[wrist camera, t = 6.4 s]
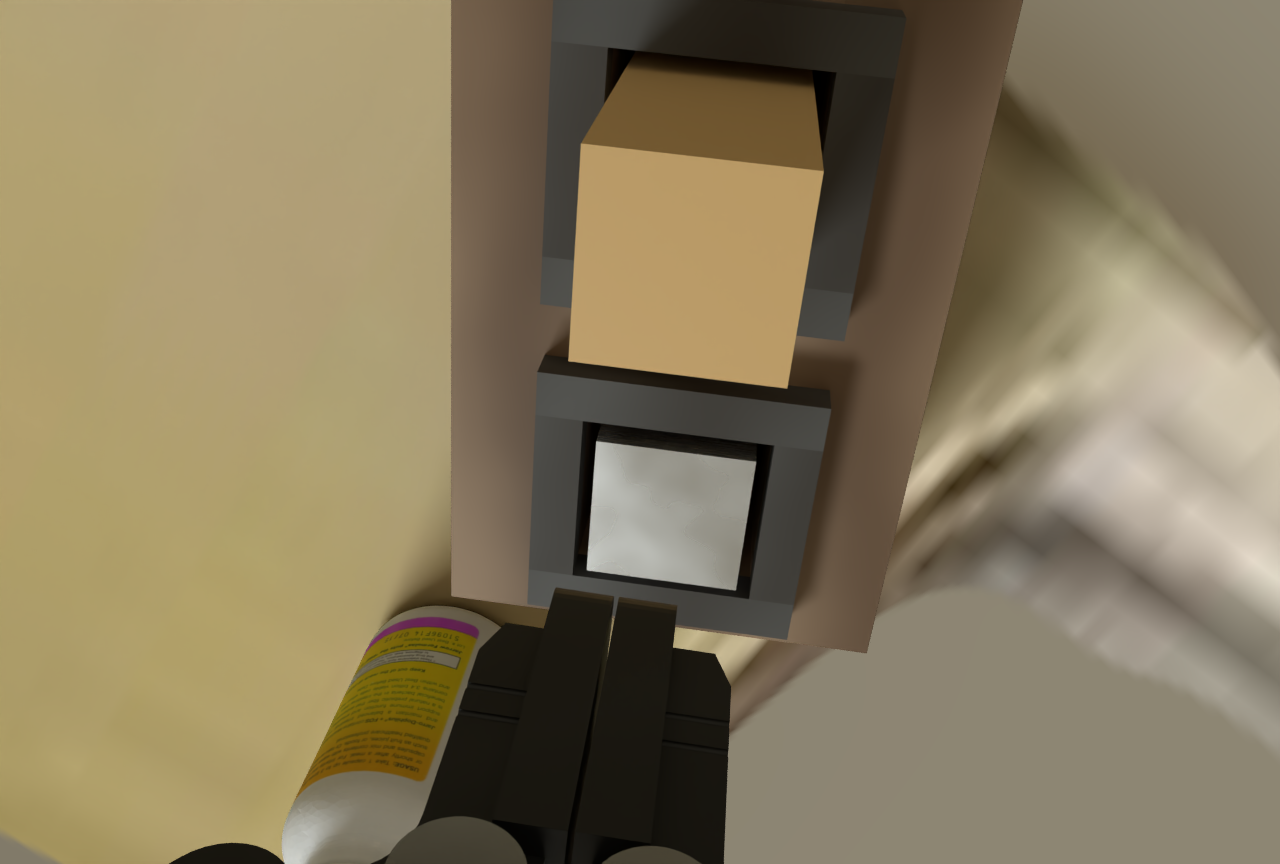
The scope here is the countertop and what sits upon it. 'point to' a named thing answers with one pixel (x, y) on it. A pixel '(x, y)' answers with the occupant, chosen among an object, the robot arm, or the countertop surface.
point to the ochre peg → (696, 220)
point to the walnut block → (770, 416)
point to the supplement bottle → (386, 739)
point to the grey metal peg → (670, 505)
